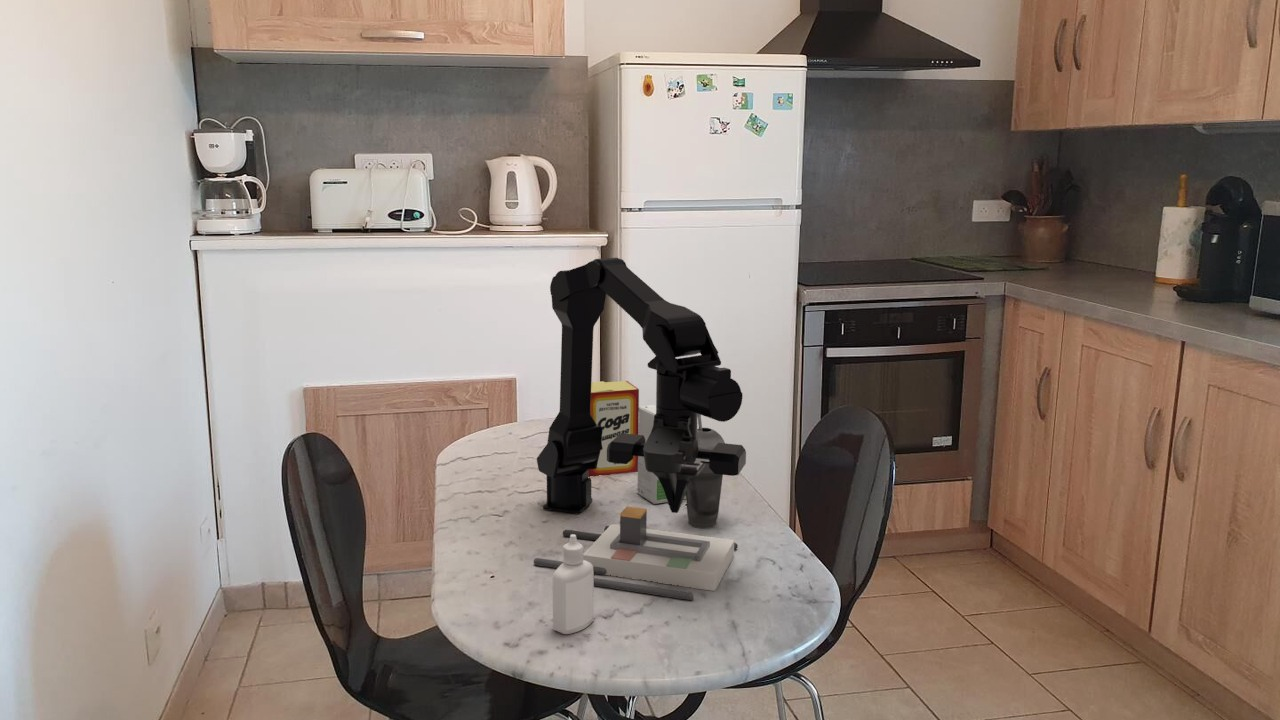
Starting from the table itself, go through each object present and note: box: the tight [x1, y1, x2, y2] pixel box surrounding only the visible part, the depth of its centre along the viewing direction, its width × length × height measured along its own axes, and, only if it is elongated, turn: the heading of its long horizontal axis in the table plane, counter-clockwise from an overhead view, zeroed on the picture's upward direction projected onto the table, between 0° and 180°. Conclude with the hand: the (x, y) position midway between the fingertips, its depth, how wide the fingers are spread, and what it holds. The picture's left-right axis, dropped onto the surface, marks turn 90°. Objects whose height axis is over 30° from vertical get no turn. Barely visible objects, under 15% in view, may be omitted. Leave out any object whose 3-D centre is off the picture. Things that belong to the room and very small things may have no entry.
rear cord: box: [562, 525, 739, 550], centre depth 147 cm, size 26×4×1 cm, turn 72°
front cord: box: [533, 557, 695, 601], centre depth 134 cm, size 24×4×1 cm, turn 72°
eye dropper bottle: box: [552, 534, 595, 635], centre depth 121 cm, size 4×6×12 cm
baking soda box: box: [588, 380, 640, 478], centre depth 179 cm, size 10×6×16 cm
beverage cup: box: [685, 414, 726, 529], centre depth 153 cm, size 7×7×20 cm
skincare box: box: [636, 404, 686, 505], centre depth 165 cm, size 8×7×16 cm
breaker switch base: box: [583, 523, 735, 592], centre depth 140 cm, size 19×12×3 cm, turn 72°
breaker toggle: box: [619, 505, 648, 546], centre depth 140 cm, size 3×3×5 cm
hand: (675, 511), depth 137 cm, fingers closed
